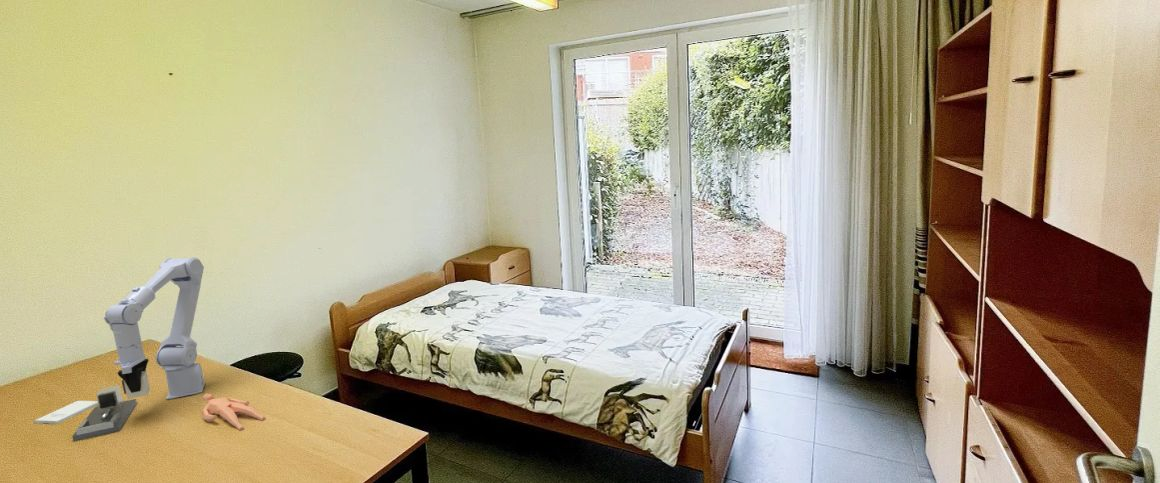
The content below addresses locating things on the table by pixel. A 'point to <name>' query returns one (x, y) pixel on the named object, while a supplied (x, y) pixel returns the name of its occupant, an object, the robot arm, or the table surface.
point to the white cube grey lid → (144, 387)
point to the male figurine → (228, 410)
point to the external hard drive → (66, 412)
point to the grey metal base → (106, 414)
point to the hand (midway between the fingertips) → (138, 388)
